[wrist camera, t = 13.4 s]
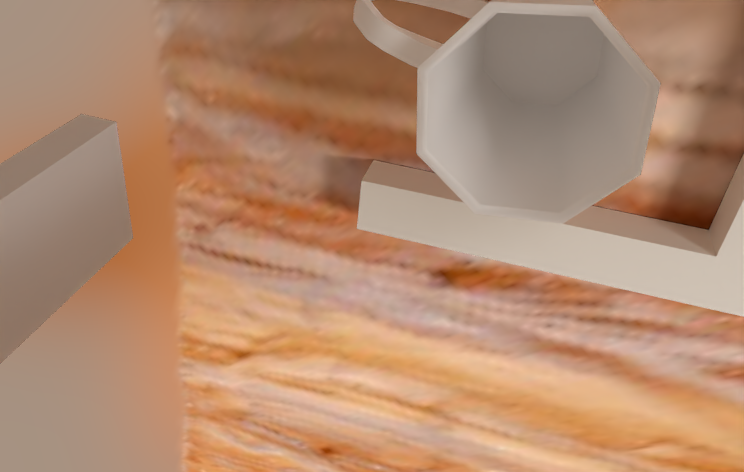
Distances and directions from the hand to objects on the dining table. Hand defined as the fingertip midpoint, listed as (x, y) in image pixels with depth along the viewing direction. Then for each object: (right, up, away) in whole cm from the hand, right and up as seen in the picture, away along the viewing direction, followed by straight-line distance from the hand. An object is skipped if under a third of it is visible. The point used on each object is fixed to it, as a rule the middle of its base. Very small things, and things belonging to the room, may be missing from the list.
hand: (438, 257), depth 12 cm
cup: (+4, +9, +13) cm, 16 cm away
